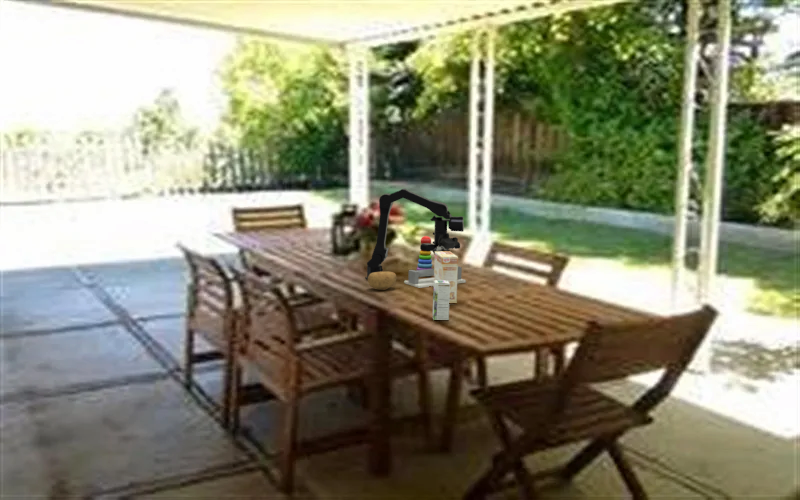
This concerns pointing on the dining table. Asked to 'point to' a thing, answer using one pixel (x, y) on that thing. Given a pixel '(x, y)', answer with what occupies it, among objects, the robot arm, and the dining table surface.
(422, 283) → the pipe rig
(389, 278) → the potato
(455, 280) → the coffeecake box
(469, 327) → the dining table surface
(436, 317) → the syrup box
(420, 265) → the stacking toy
